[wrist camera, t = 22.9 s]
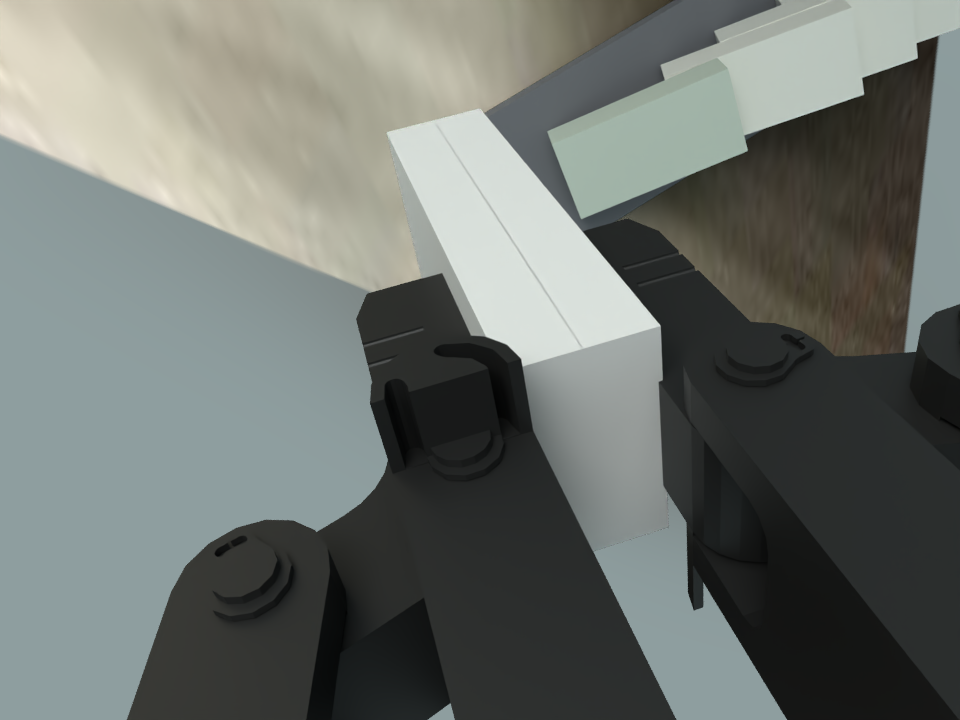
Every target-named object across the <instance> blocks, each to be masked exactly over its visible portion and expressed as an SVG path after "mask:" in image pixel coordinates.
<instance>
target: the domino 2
mask: <svg viewBox="0 0 960 720" xmlns="http://www.w3.org/2000/svg"><path fill="white" fill-rule="evenodd" d="M715 58H718V59H719V60H720V61H721V62H722V63H723V64H724V65H725V66H726V67H727V68H728V70H729V74H730V78H731V83H732V87H733V91H734V95H735V99H736V103H737V108H738V112H739V116H740V120H741V124H742V129H743V133H744V135H747V134H750V133H753V132H756V131H759V130H762V129H765V128H767V127H770V126H773V125H776V124H779V123H782V122H785V121H788V120H791V119H794V118H797V117H800V116H803V115H806V114H809V113H811V112H814V111H817V110H820V109H823V108H826V107H829V106H832V105H835V104H838V103H841V102H844V101H847V100H850V99H852V98H855V97H858V96H861V95H864V90H863V82H862V75H861V68H860V61H859V54H858V47H857V40H856V33H855V25H854V18H853V11H852V7H851V6H850V5H849V4H848V3H847V2H846V1H845V0H831V1H828V2H826V3H823V4H820V5H818V6H815V7H812V8H810V9H807V10H804V11H802V12H799V13H797V14H794V15H791V16H789V17H786V18H783V19H781V20H778V21H775V22H773V23H770V24H767V25H765V26H762V27H760V28H757V29H754V30H752V31H749V32H746V33H744V34H741V35H738V36H736V37H733V38H730V39H728V40H725V41H722V42H720V43H717V44H714V45H712V46H709V47H707V48H704V49H701V50H699V51H696V52H693V53H691V54H688V55H685V56H683V57H680V58H677V59H675V60H672V61H670V62H667V63H664V64H662V65H661V69H662V72H663V76H664V79H665V80H667V79H669V78H671V77H674V76H676V75H678V74H680V73H683V72H685V71H687V70H690V69H692V68H694V67H697V66H699V65H701V64H704V63H706V62H708V61H710V60H713V59H715Z"/></svg>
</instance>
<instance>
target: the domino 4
mask: <svg viewBox="0 0 960 720" xmlns="http://www.w3.org/2000/svg"><path fill="white" fill-rule="evenodd" d="M775 1H776V6H780V5H782V4H785V3H788V2H790V1H793V0H775ZM912 5H913V15H914V25H915V35H916V43H918V42H921V41H924V40H927V39H930V38H933V37H936V36H938V35H941V34H944V33H947V32H950V31H953V30H956V29H958V28H960V0H912Z"/></svg>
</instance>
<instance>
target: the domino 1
mask: <svg viewBox="0 0 960 720" xmlns="http://www.w3.org/2000/svg"><path fill="white" fill-rule="evenodd" d="M547 132H548V135H549V138H550V141H551V143H552V146H553V149H554V151H555V154H556V156H557V159H558V161H559V164H560V166H561V169H562V172H563V174H564V177H565V179H566V182H567V184H568V187H569V189H570V192H571V195H572V197H573V200H574V202H575V205H576V207H577V210H578V212H579V215H580V218H581V219H583V218H585V217H588V216H590V215H593V214H595V213H598V212H600V211H602V210H605V209H607V208H610V207H612V206H615V205H617V204H620V203H622V202H624V201H627V200H629V199H632V198H634V197H637V196H639V195H641V194H644V193H646V192H649V191H651V190H654V189H656V188H659V187H661V186H663V185H666V184H668V183H671V182H673V181H676V180H678V179H681V178H683V177H685V176H688V175H690V174H693V173H695V172H698V171H700V170H703V169H705V168H707V167H710V166H712V165H715V164H717V163H720V162H722V161H725V160H727V159H729V158H732V157H734V156H737V155H739V154H742V153H744V152H747V151H748V149H747V145H746V141H745V137H744V133H743V129H742V124H741V120H740V116H739V112H738V108H737V103H736V99H735V95H734V91H733V87H732V83H731V78H730V74H729V70H728V68H727V67H726V66H725V65H724V64H723V63H722V62H721V61H720V60H719V59H718V58H715V59H713V60H710V61H708V62H706V63H704V64H701V65H699V66H697V67H694V68H692V69H690V70H687V71H685V72H683V73H680V74H678V75H676V76H674V77H671V78H669V79H667V80H664V81H662V82H660V83H657V84H655V85H653V86H651V87H648V88H646V89H644V90H641V91H639V92H637V93H634V94H632V95H630V96H627V97H625V98H623V99H621V100H618V101H616V102H614V103H611V104H609V105H607V106H604V107H602V108H600V109H598V110H595V111H593V112H591V113H588V114H586V115H584V116H581V117H579V118H577V119H574V120H572V121H570V122H568V123H565V124H563V125H561V126H558V127H556V128H554V129H551V130H549V131H547Z"/></svg>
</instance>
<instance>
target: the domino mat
mask: <svg viewBox="0 0 960 720" xmlns="http://www.w3.org/2000/svg"><path fill="white" fill-rule="evenodd" d="M775 7H777V6H776V1H775V0H674V1H672V2H670V3H669V4H667V5H665V6H664V7H662V8H660V9H659V10H657V11H655V12H654V13H652V14H650V15H649V16H647V17H645V18H643V19H642V20H640V21H638V22H637V23H635V24H633V25H632V26H630V27H628V28H627V29H625V30H623V31H622V32H620V33H618V34H617V35H615V36H613V37H612V38H610V39H608V40H607V41H605V42H603V43H601V44H600V45H598V46H596V47H595V48H593V49H591V50H590V51H588V52H586V53H585V54H583V55H581V56H580V57H578V58H576V59H575V60H573V61H571V62H570V63H568V64H566V65H564V66H563V67H561V68H559V69H558V70H556V71H554V72H553V73H551V74H549V75H548V76H546V77H544V78H543V79H541V80H539V81H538V82H536V83H534V84H533V85H531V86H529V87H528V88H526V89H524V90H522V91H521V92H519V93H517V94H516V95H514V96H512V97H511V98H509V99H507V100H506V101H504V102H502V103H501V104H499V105H497V106H496V107H494V108H492V109H491V110H489V111H487V112H486V113H484V114H485V115H486V116H487V117H488V119H489V120H490V121H491V122H492V124H493V125H494V126H495V127H496V128H497V130H498V131H499V132H500V133H501V134H502V136H503V137H504V138H505V139H506V140H507V142H508V143H509V144H510V145H511V146H512V148H513V149H514V150H515V151H516V152H517V154H518V155H519V156H520V157H521V158H522V160H523V161H524V162H525V163H526V164H527V166H528V167H529V168H530V169H531V170H532V172H533V173H534V174H535V175H536V176H537V178H538V179H539V180H540V181H541V182H542V184H543V185H544V186H545V187H546V188H547V190H548V191H549V192H550V193H551V195H552V196H553V197H554V198H555V199H556V201H557V202H558V203H559V204H560V205H561V207H562V208H563V209H564V210H565V211H566V213H567V214H568V215H569V216H570V217H571V219H572V220H573V221H574V222H575V223H576V225H577V226H578V227H579V228H580V229H581V231H584V230H588V229H592V228H595V227H599V226H603V225H606V224H610V223H613V222H615V221H617V220H618V219H620V218H621V217H623V216H625V215H626V214H628V213H629V212H631V211H633V210H634V209H636V208H637V207H639V206H641V205H642V204H644V203H646V202H647V201H649V200H650V199H652V198H654V197H655V196H657V195H658V194H660V193H662V192H663V191H665V190H666V189H668V188H670V187H671V186H673V185H675V184H676V183H678V182H679V181H681V180H683V179H684V178H686V177H687V176H685V177H683V178H681V179H678V180H676V181H673V182H671V183H668V184H666V185H663V186H661V187H659V188H656V189H654V190H651V191H649V192H646V193H644V194H641V195H639V196H637V197H634V198H632V199H629V200H627V201H624V202H622V203H620V204H617V205H615V206H612V207H610V208H607V209H605V210H602V211H600V212H598V213H595V214H593V215H590V216H588V217H585V218H583V219H581V218H580V215H579V212H578V210H577V207H576V205H575V202H574V200H573V197H572V195H571V192H570V189H569V187H568V184H567V182H566V179H565V177H564V174H563V172H562V169H561V166H560V164H559V161H558V159H557V156H556V154H555V151H554V149H553V146H552V143H551V141H550V138H549V135H548V132H547V131H549V130H551V129H554V128H556V127H558V126H561V125H563V124H565V123H568V122H570V121H572V120H574V119H577V118H579V117H581V116H584V115H586V114H588V113H591V112H593V111H595V110H598V109H600V108H602V107H604V106H607V105H609V104H611V103H614V102H616V101H618V100H621V99H623V98H625V97H627V96H630V95H632V94H634V93H637V92H639V91H641V90H644V89H646V88H648V87H651V86H653V85H655V84H657V83H660V82H662V81H664V80H665V79H664V76H663V72H662V69H661V65H662V64H664V63H667V62H670V61H672V60H675V59H677V58H680V57H683V56H685V55H688V54H691V53H693V52H696V51H699V50H701V49H704V48H707V47H709V46H712V45H714V44H717V41H716V37H715V33H714V31H715V30H718V29H720V28H723V27H725V26H728V25H731V24H733V23H736V22H738V21H741V20H744V19H746V18H749V17H751V16H754V15H757V14H759V13H762V12H764V11H767V10H770V9H772V8H775ZM762 130H763V129H762ZM762 130H759V131H756V132H753V133H750V134H747V135H744V137H745V140H747V139H749V138H750V137H752V136H753V135H755V134H757V133H758V132H760V131H762ZM690 175H691V174H690ZM688 176H689V175H688Z"/></svg>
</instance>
